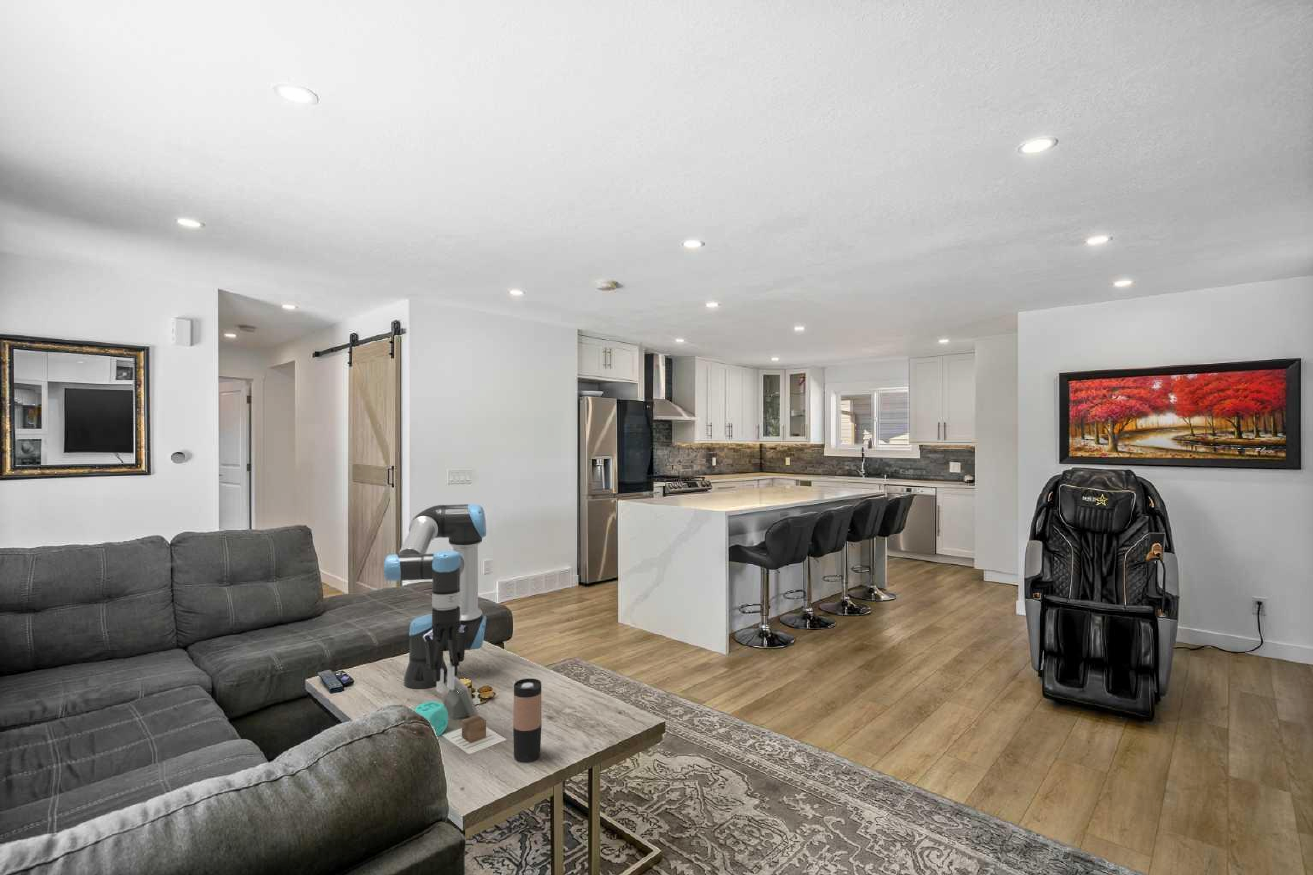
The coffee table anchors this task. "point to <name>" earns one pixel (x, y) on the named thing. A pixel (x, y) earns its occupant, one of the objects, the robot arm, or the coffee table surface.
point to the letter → (474, 746)
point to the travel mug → (527, 720)
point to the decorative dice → (434, 715)
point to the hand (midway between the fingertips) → (445, 689)
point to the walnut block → (474, 728)
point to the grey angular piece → (459, 701)
